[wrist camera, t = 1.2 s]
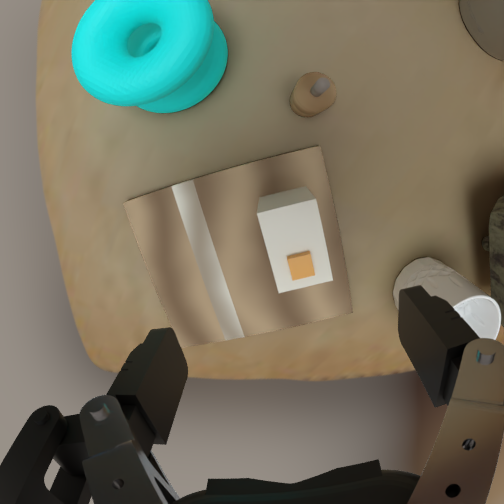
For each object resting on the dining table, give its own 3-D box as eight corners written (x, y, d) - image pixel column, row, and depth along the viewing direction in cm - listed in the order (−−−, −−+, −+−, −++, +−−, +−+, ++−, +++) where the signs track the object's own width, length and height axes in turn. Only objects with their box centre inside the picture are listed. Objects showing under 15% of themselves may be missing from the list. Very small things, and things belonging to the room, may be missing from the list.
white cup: (402, 331, 32) (437, 390, 22) (374, 279, 30) (412, 335, 20) (458, 292, 30) (505, 341, 21) (437, 236, 28) (493, 276, 19)
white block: (305, 185, 26) (317, 200, 20) (320, 251, 28) (334, 283, 22) (259, 197, 27) (256, 215, 20) (276, 262, 28) (278, 297, 22)
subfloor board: (318, 145, 26) (320, 145, 25) (350, 306, 31) (352, 312, 30) (128, 200, 28) (123, 202, 27) (183, 341, 33) (181, 347, 32)
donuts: (121, -46, 12) (243, -4, 14) (163, 0, 22) (252, 42, 23) (41, 71, 15) (147, 132, 17) (105, 86, 25) (188, 134, 26)
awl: (317, 83, 24) (339, 58, 16) (326, 113, 25) (352, 101, 17) (285, 90, 24) (293, 66, 16) (294, 120, 25) (306, 110, 17)
